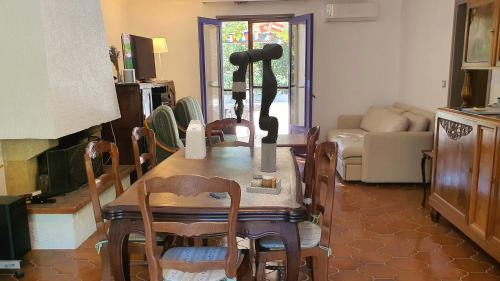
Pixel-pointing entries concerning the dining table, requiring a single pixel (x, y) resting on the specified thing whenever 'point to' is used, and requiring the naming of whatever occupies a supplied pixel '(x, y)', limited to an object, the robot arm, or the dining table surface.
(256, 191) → the grey tray
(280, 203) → the dining table surface
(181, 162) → the dining table surface
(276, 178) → the pusher
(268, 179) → the brown jar
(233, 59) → the robot arm
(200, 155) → the milk
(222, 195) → the medicine box
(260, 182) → the cream jar
